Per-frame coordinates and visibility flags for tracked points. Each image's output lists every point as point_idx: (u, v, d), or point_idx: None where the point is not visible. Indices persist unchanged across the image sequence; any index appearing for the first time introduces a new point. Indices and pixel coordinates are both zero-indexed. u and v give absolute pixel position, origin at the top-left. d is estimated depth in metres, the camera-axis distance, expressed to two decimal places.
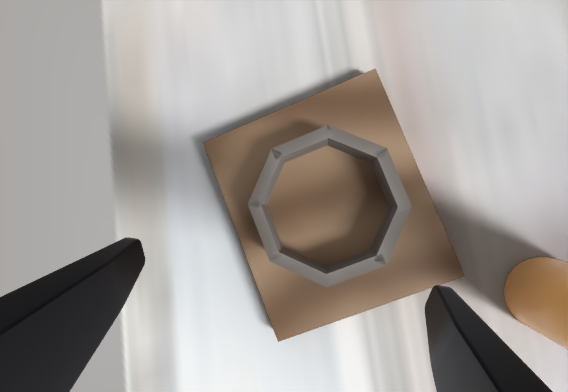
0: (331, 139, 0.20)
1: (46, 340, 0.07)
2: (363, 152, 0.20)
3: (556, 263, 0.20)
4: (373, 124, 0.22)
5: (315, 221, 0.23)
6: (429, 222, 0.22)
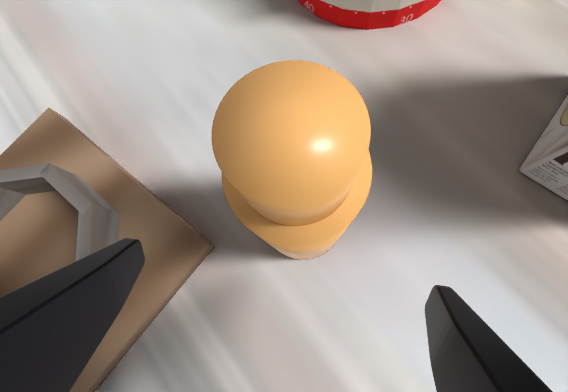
0: None
1: (46, 340, 0.07)
2: (30, 179, 0.18)
3: None
4: (64, 153, 0.21)
5: (38, 276, 0.19)
6: (151, 212, 0.20)
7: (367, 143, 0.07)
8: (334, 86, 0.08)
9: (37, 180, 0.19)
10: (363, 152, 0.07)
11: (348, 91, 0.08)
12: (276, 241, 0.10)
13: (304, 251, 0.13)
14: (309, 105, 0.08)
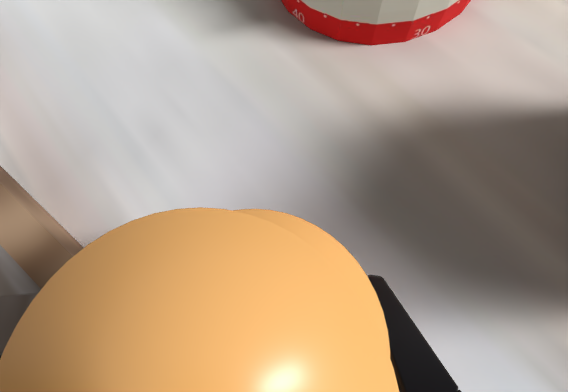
0: None
1: None
2: None
3: None
4: None
5: None
6: None
7: None
8: (306, 291, 0.03)
9: None
10: None
11: (342, 310, 0.03)
12: None
13: None
14: (240, 347, 0.03)
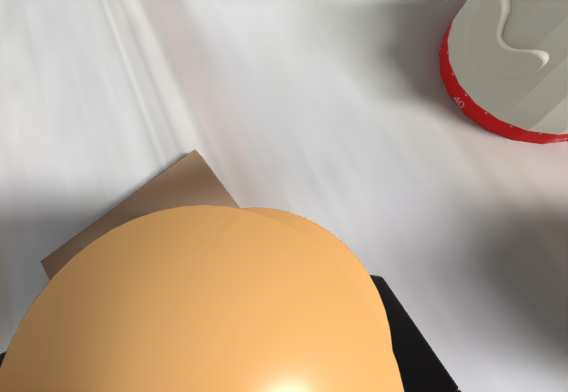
0: None
1: None
2: None
3: None
4: (203, 199, 0.23)
5: None
6: None
7: None
8: (310, 288, 0.03)
9: None
10: None
11: (347, 307, 0.03)
12: None
13: None
14: (244, 344, 0.03)
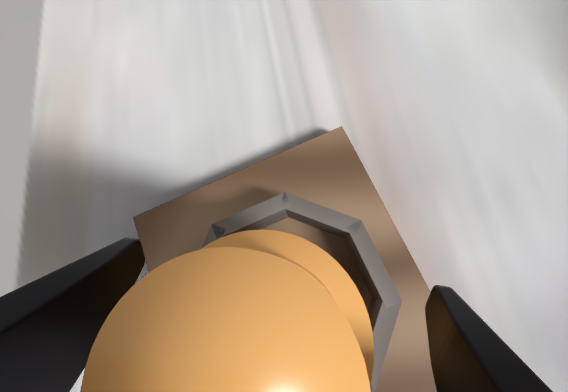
0: (289, 210, 0.16)
1: (46, 340, 0.07)
2: (331, 226, 0.15)
3: None
4: (344, 190, 0.18)
5: None
6: None
7: None
8: (305, 308, 0.04)
9: (334, 228, 0.15)
10: None
11: (330, 322, 0.04)
12: None
13: None
14: (259, 349, 0.04)
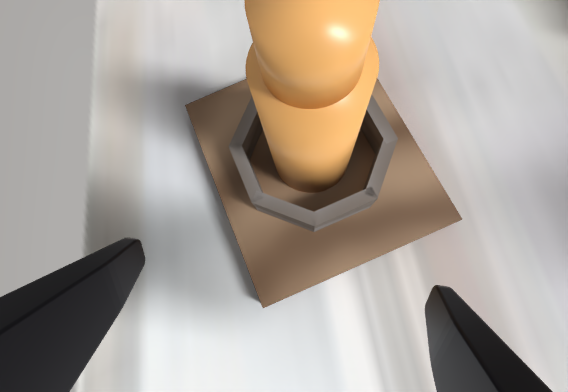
0: None
1: (46, 340, 0.07)
2: None
3: None
4: None
5: None
6: (418, 167, 0.21)
7: (377, 3, 0.09)
8: None
9: None
10: (373, 11, 0.09)
11: None
12: (295, 122, 0.11)
13: (316, 155, 0.14)
14: None
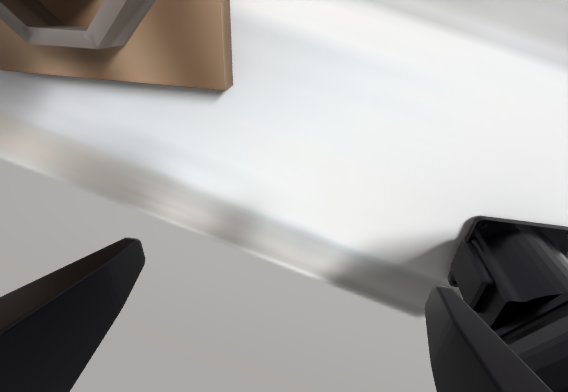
0: None
1: (46, 340, 0.07)
2: None
3: None
4: None
5: None
6: None
7: None
8: None
9: None
10: None
11: None
12: None
13: None
14: None
